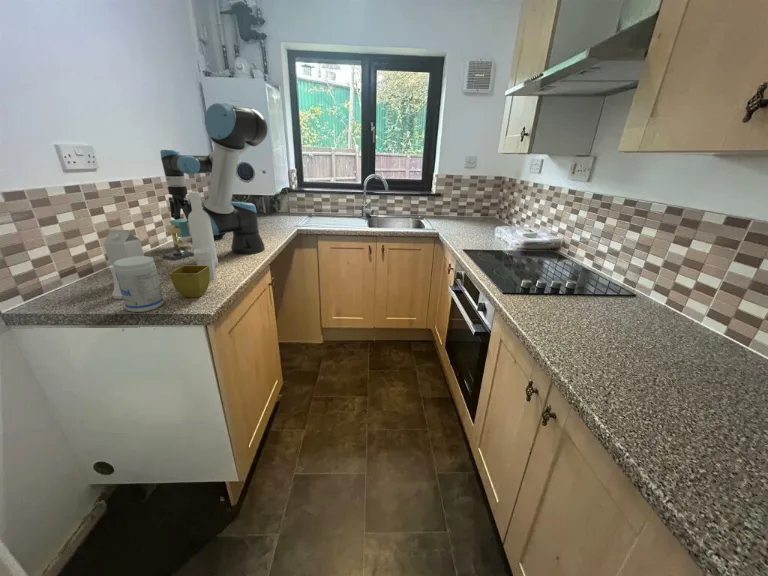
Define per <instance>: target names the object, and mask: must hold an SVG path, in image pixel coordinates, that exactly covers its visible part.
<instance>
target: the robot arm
mask: <svg viewBox="0 0 768 576" xmlns="http://www.w3.org/2000/svg"><path fill="white" fill-rule="evenodd" d="M204 125H205V131H206V132H207V134H208V135H209V136H210V140H211V142H212V143H213V145H214V148H213V151H212V152H210V153H209V154H208V155H189V154H188V155H187V154H181V153H180V151H179V150H177V149H161V150H160V151H159V152H160V160H161V163H162V168H163V172H164V176H165V181H166V185H167V191H168V194H169V195H171V196H170V197H168V202H169V210H170V217H171V218H173V220H178V219H182V217H181V212H183V214H184V217H185V219H187V221H186V222H187V226H188V231H189V235H190V236H189V237H191V233H190V228H189V223H188V216H189V214H190V213H191V211H192V207H191V202H190V198H189V199H188V198H187V196H186V195H189V192H188V188H187V186H186V185H187V182H186V179H185V178H186V177H185V174H186V175H195V174H210V175H211V176H210V182H209V191H208V192H209V193H208V198H206V199H205V200H204V201H203V205H202V209H203V211H204V212H206V213H207V214H208V216H209V217H210V220H211V226H212V232H213V235H219V234H223V233H226V234H227V233H232V236H233V237H232V242H231V248H230V249H231V253H234V254H237V255H240V254H241V255H249V254H258V253H261V252H263V251H264V250H265V243H264V241H263V240H262V237H261V234H260V231H259V223H258V212H257V208H256V205H255V204H254V203H251V202H243V201H232V199H233V194H234V193H233V192H234V187H235V180H236V173H237V169H238V167H237V166H238V163H239V156H240V155H242V154H244V153H245V152H247V150H248V149H250V148H251V147H257V146H259V145H260V144H261V143H262V142H263V141H265V139H266V137H267V136H268V129H269V128H268V123H267V121H266V119H265V117H264V116H263V114H261V113H260V112H259V111H258V110H256V109H254V108H252V107H251V108H250V107H245V106H240V105H239V106H238V105H234V104H229V103H224V102H223V103H219V102H216V103H212V105H209V106H208V108H207V109H206V111H205V116H204ZM181 209H182V210H181Z"/></svg>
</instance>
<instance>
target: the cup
mask: <svg viewBox="0 0 768 576" xmlns="http://www.w3.org/2000/svg"><path fill="white" fill-rule="evenodd" d="M192 252H193V253H194V256H193V258H194V260H195V262H196V265H198V266H209V270H210V281H212V280H215V279H217V275H216V274H217V272H216V267H215V262H214V250H213V249H212V248H199V249H195V250H194V249H193V250H192Z"/></svg>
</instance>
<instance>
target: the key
mask: <svg viewBox="0 0 768 576" xmlns="http://www.w3.org/2000/svg"><path fill="white" fill-rule="evenodd" d="M165 229H166V231H167V233H170V234H169V235H171V237H172V241H173V245H174V251H180V250H181V246H184V242H183V241H182V240H180V238H179V236H177V233H181V229H180V227H178V226H177V225H171V224H168V225H166V224H165Z"/></svg>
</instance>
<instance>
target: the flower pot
mask: <svg viewBox="0 0 768 576" xmlns="http://www.w3.org/2000/svg"><path fill="white" fill-rule="evenodd" d="M168 275H169V278H170V280H171V284H172V285H173V287H174V289H175V291H176V292H177V293H178V294H179V295H181V297H183V298H200V297H202V296H203V294H205V293H206V292H207V290H208V288H209V286H210V281H211V280H210V270H209V266H198V265H197V264H196V265H194V264H193V265H189V264H187V265H185V264H184V265H181V266H179V267H177V268H175V269H174V270H172V271H170V272H169V273H168Z"/></svg>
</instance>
